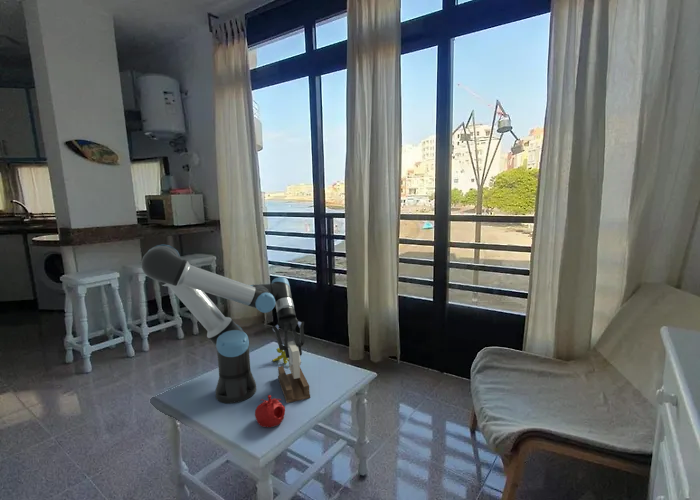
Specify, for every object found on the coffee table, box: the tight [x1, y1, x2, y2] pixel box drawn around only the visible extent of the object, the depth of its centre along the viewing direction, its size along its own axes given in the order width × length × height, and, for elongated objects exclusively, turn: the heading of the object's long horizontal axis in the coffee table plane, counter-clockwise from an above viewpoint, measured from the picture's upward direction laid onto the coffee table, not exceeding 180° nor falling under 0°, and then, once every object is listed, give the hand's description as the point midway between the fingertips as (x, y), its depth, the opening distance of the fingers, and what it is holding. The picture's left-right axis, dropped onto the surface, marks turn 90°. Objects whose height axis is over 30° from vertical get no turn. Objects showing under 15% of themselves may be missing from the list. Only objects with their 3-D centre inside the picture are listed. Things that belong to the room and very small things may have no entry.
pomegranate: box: [254, 394, 286, 428], centre depth 117 cm, size 10×10×9 cm
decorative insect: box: [272, 347, 289, 365], centre depth 162 cm, size 13×3×10 cm
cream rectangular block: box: [288, 340, 301, 379], centre depth 138 cm, size 2×10×11 cm, turn 21°
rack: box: [277, 365, 311, 404], centre depth 139 cm, size 9×20×5 cm, turn 20°
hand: (295, 364), depth 135 cm, fingers closed on cream rectangular block, 2 cm apart
